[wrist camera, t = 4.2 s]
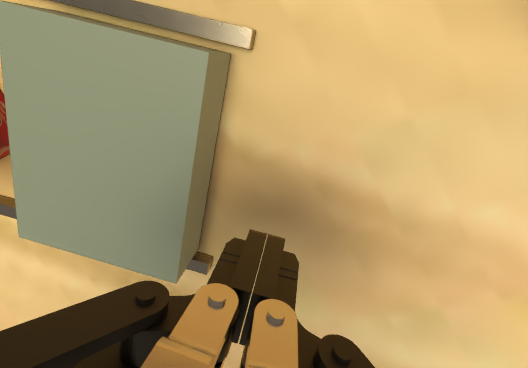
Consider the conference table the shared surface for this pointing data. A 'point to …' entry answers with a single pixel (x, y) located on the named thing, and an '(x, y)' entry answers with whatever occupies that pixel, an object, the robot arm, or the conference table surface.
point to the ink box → (3, 129)
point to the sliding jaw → (109, 137)
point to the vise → (122, 5)
